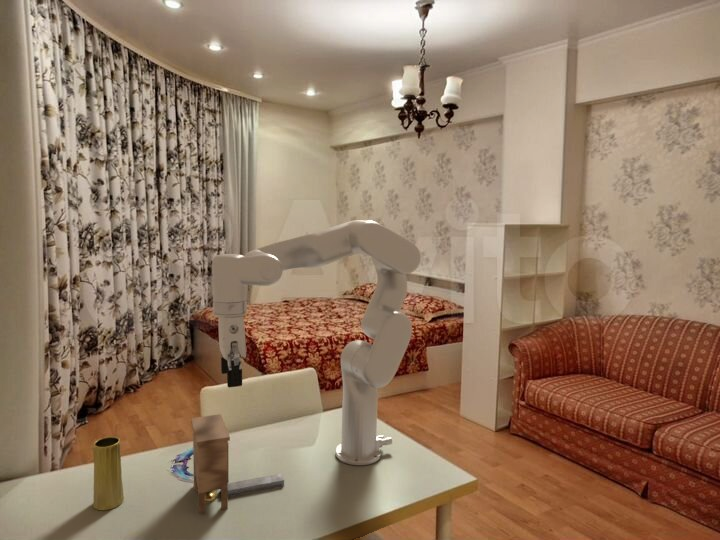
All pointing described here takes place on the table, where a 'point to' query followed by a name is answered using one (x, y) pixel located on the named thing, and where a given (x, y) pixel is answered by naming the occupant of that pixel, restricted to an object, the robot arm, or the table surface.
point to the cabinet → (210, 458)
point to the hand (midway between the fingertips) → (231, 379)
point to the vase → (107, 474)
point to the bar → (255, 485)
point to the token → (210, 496)
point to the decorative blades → (183, 466)
